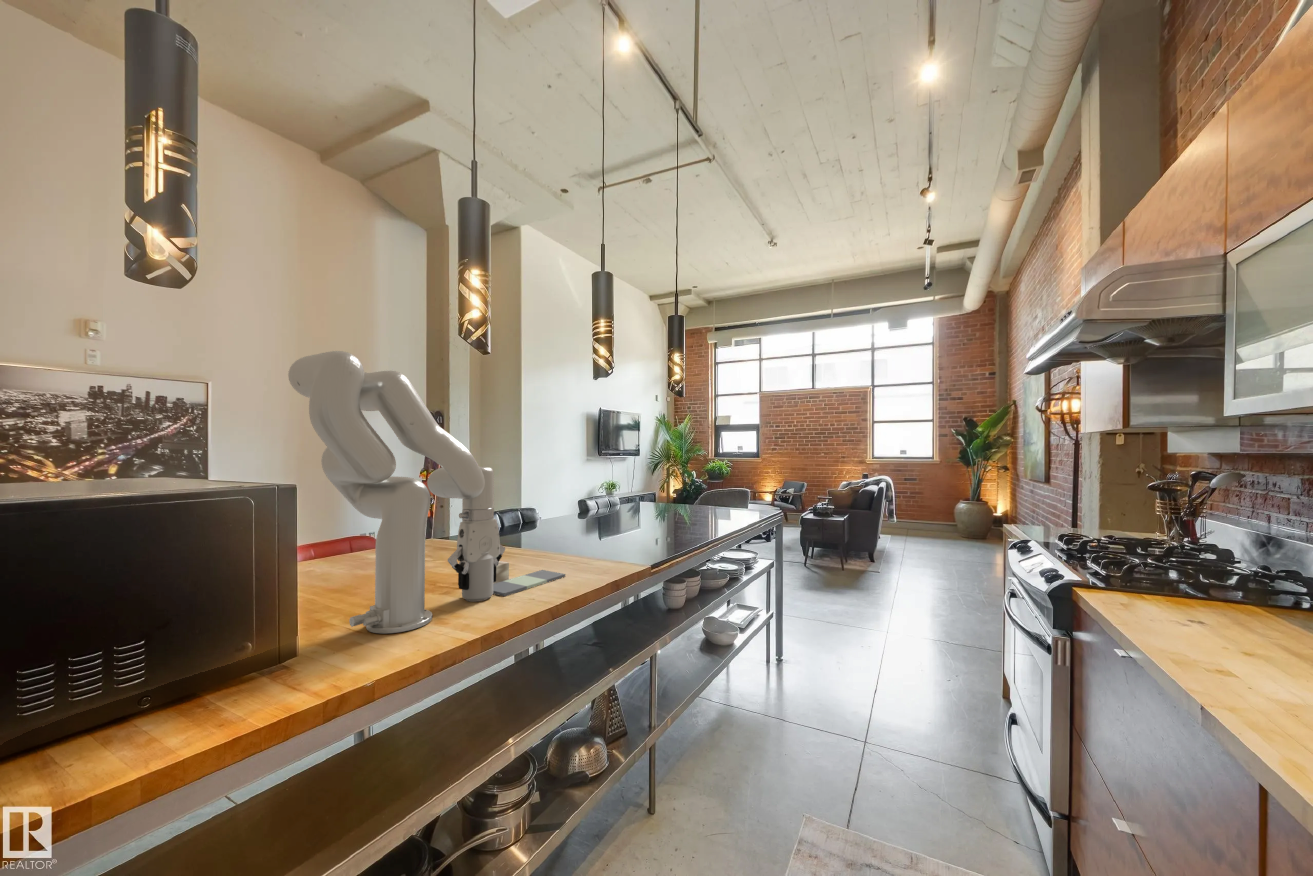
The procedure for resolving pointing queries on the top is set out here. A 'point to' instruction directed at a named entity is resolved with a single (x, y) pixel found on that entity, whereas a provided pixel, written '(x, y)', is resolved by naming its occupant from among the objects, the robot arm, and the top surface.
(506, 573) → the die
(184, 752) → the top surface
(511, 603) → the top surface
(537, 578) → the board
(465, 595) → the can
